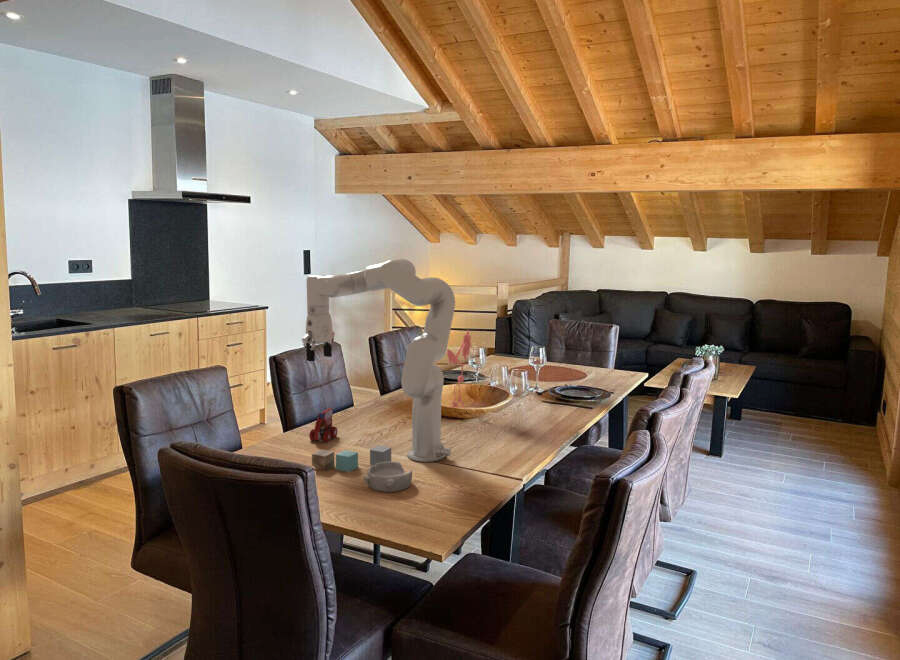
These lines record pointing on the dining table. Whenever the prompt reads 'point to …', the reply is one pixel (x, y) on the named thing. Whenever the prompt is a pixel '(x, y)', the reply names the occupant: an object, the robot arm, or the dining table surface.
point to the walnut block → (323, 460)
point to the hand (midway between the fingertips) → (319, 358)
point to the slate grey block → (380, 455)
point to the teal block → (346, 461)
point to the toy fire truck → (324, 427)
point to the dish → (388, 477)
